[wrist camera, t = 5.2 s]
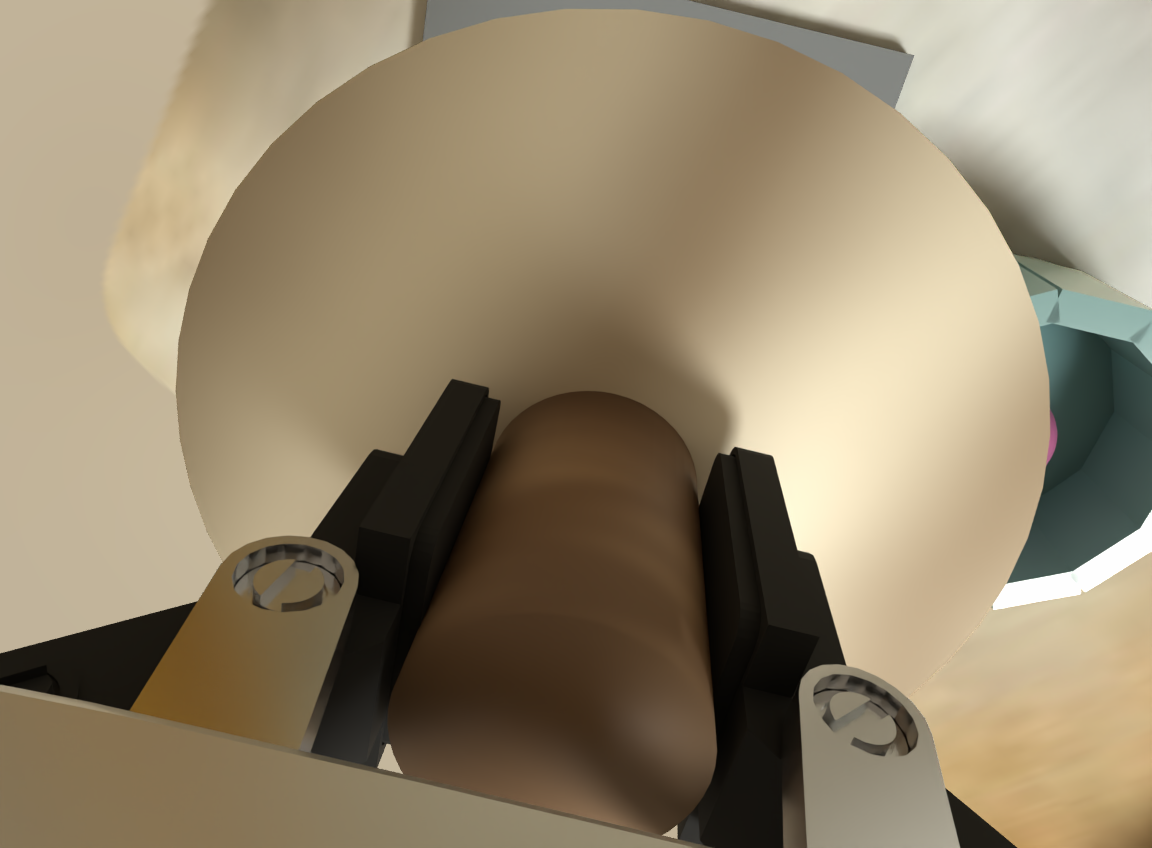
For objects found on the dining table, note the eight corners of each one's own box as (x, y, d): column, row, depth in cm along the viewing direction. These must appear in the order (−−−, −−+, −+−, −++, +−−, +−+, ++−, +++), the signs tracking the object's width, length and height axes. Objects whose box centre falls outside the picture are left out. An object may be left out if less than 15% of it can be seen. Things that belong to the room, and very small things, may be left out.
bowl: (1190, 294, 28) (1295, 344, 23) (1041, 553, 32) (1103, 636, 28) (879, 220, 27) (923, 255, 23) (775, 491, 32) (795, 564, 28)
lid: (1198, 137, 10) (1781, 241, 5) (844, 810, 16) (935, 1200, 11) (210, -93, 10) (-286, -238, 5) (207, 663, 16) (-24, 979, 11)
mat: (908, 54, 25) (914, 55, 25) (758, 464, 32) (760, 471, 31) (439, -60, 25) (434, -62, 24) (386, 376, 32) (382, 382, 31)
